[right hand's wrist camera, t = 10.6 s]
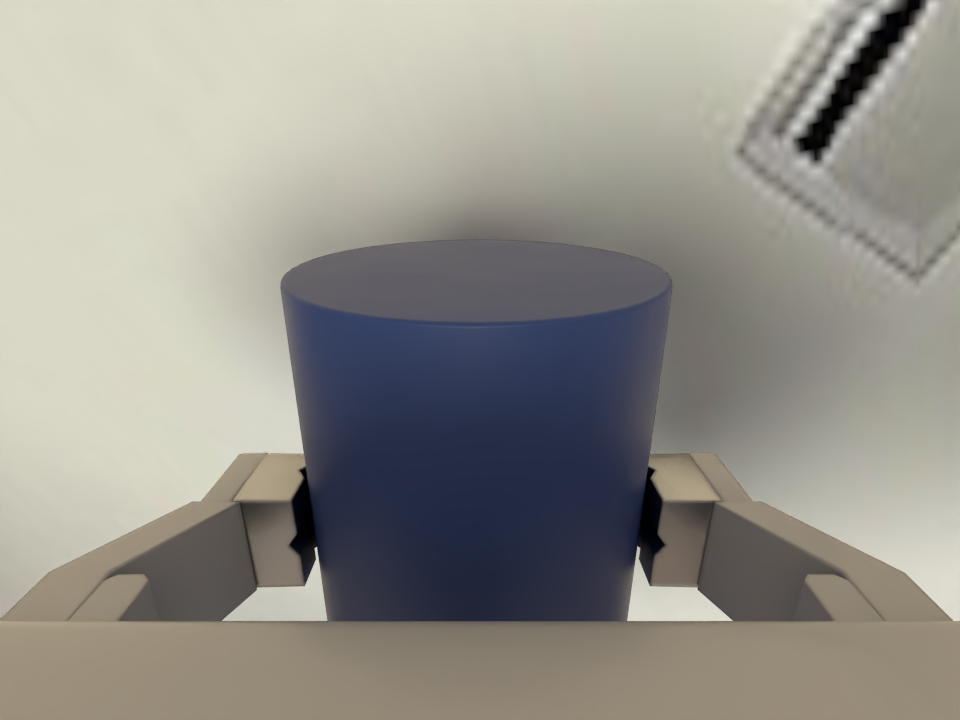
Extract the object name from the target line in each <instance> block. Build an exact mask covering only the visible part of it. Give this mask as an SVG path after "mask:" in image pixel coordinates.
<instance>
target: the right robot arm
mask: <svg viewBox="0 0 960 720" xmlns="http://www.w3.org/2000/svg"><path fill="white" fill-rule="evenodd" d="M637 546H639V547H640V556H639V560H640V563H641V565H642V567H643V570H644V572H645V575H646V577H647V580H648V582H649V585H650V586H666V587H698V590H699V591H700V592H701V593H702V594H703V595H704V596H706V597H707V598H708V599H709V600H710V601H711V602H712V603H714V604H715V605H716V606H717V607H718V608H719V609H720V610H722V611H723V612H724V613H725V614H726V615H727V616H728V617H730V618H731V619H732V620H733V621H221V620H223V619H224V618H225V617H226V616H227V615H228V614H230V613H231V612H232V611H233V610H234V609H235V608H236V607H238V606H239V605H240V604H241V603H242V602H243V601H245V600H246V599H247V598H248V597H249V596H250V595H251V594H253V593H254V592H255V591H256V590H257V588H256V587H287V586H305V584H306V582H307V579H308V577H309V574H310V572H311V570H312V567H313V565H314V562H315V560H316V557H315V549H314V548H315V547H317V542H316V535H315V528H314V521H313V514H312V507H311V500H310V493H309V486H308V479H307V471H306V464H305V457H304V454H286V453H270V454H268V453H244V454H239V455H238V457H237V458H236V459H235V460H234V461H233V463H232V464H231V465H230V466H229V468H228V469H227V470H226V471H225V473H224V474H223V475H222V476H221V477H220V479H219V480H218V481H217V482H216V484H215V485H214V486H213V487H212V489H211V490H210V491H209V492H208V493H207V495H206V496H205V497H204V498H203V500H202V501H201V502H191V503H189V504H187V505H185V506H183V507H181V508H179V509H177V510H175V511H173V512H170V513H168V514H166V515H164V516H162V517H160V518H158V519H156V520H154V521H152V522H150V523H148V524H146V525H144V526H142V527H140V528H138V529H136V530H134V531H132V532H130V533H128V534H126V535H124V536H122V537H120V538H118V539H116V540H114V541H111V542H109V543H107V544H105V545H103V546H101V547H99V548H97V549H95V550H93V551H91V552H89V553H87V554H85V555H83V556H81V557H79V558H77V559H75V560H73V561H71V562H69V563H67V564H65V565H63V566H61V567H59V568H57V569H55V570H52V571H50V572H49V573H48V574H47V575H46V576H45V577H44V578H43V579H41V580H40V581H39V582H38V583H37V584H36V585H35V586H34V587H33V588H32V589H31V590H30V591H29V592H28V593H27V594H26V595H25V596H24V597H23V598H22V599H21V600H20V601H19V602H18V603H17V604H16V605H15V606H13V607H12V608H11V609H10V610H9V611H8V612H7V613H6V614H5V615H4V616H3V617H2V618H1V619H0V720H960V621H953V620H952V619H951V618H950V617H949V616H948V615H947V614H946V613H945V612H944V611H943V610H942V609H941V608H940V607H939V606H938V605H937V604H936V603H935V602H934V601H933V600H932V599H931V598H930V597H929V596H928V595H927V594H926V593H925V592H924V591H923V590H922V589H921V588H920V587H919V586H918V585H917V584H916V583H915V582H914V581H913V580H911V579H910V578H909V577H908V576H907V575H906V574H905V573H904V572H902V571H900V570H898V569H896V568H894V567H892V566H890V565H888V564H886V563H884V562H882V561H880V560H878V559H876V558H874V557H872V556H870V555H868V554H866V553H864V552H862V551H860V550H858V549H856V548H854V547H852V546H850V545H848V544H846V543H844V542H842V541H840V540H838V539H836V538H834V537H832V536H830V535H828V534H826V533H824V532H822V531H820V530H818V529H816V528H814V527H812V526H809V525H807V524H805V523H803V522H801V521H799V520H797V519H795V518H793V517H791V516H789V515H787V514H785V513H783V512H781V511H779V510H777V509H775V508H773V507H771V506H769V505H767V504H765V503H763V502H753V501H752V499H751V498H750V497H749V496H748V494H747V493H746V492H745V491H744V489H743V488H742V487H741V486H740V484H739V483H738V482H737V481H736V479H735V478H734V477H733V476H732V474H731V473H730V472H729V471H728V469H727V468H726V467H725V466H724V464H723V463H722V462H721V461H720V459H719V458H718V457H717V456H716V455H715V454H713V453H688V454H650V455H649V462H648V470H647V477H646V485H645V492H644V499H643V507H642V514H641V521H640V529H639V536H638V543H637Z"/></svg>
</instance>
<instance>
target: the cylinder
mask: <svg viewBox="0 0 960 720" xmlns="http://www.w3.org/2000/svg"><path fill="white" fill-rule="evenodd" d="M671 293H672V280H671V278H670V276H669V275H668V273H666V272H665V271H664V270H663V269H661V268H659V267H658V266H656V265H654V264H652V263H649V262H647V261H644V260H641V259H639V258H635V257H632V256H629V255H625V254H621V253H617V252H612V251H607V250H602V249H596V248H590V247H583V246H575V245H567V244H557V243H547V242H533V241H514V240H441V241H422V242H409V243H398V244H388V245H380V246H372V247H365V248H359V249H353V250H348V251H343V252H338V253H334V254H330V255H326V256H322V257H319V258H316V259H313V260H310V261H308V262H305V263H302V264H300V265H298V266H296V267H294V268H293V269H291V270H290V271H288V272H287V273H286V274H285V275H284V277H283V278H282V280H281V295H282V302H283V309H284V316H285V323H286V330H287V337H288V344H289V351H290V358H291V365H292V372H293V380H294V387H295V394H296V401H297V408H298V415H299V422H300V429H301V436H302V443H303V450H304V457H305V464H306V471H307V479H308V486H309V493H310V500H311V507H312V514H313V521H314V528H315V535H316V542H317V549H318V556H319V563H320V570H321V577H322V585H323V592H324V599H325V606H326V613H327V620H328V621H627V617H628V610H629V602H630V595H631V588H632V580H633V573H634V566H635V558H636V551H637V543H638V536H639V529H640V521H641V514H642V507H643V499H644V492H645V485H646V477H647V470H648V462H649V455H650V448H651V440H652V433H653V426H654V418H655V411H656V404H657V396H658V389H659V381H660V374H661V367H662V359H663V352H664V345H665V337H666V330H667V322H668V315H669V308H670V300H671Z"/></svg>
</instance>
